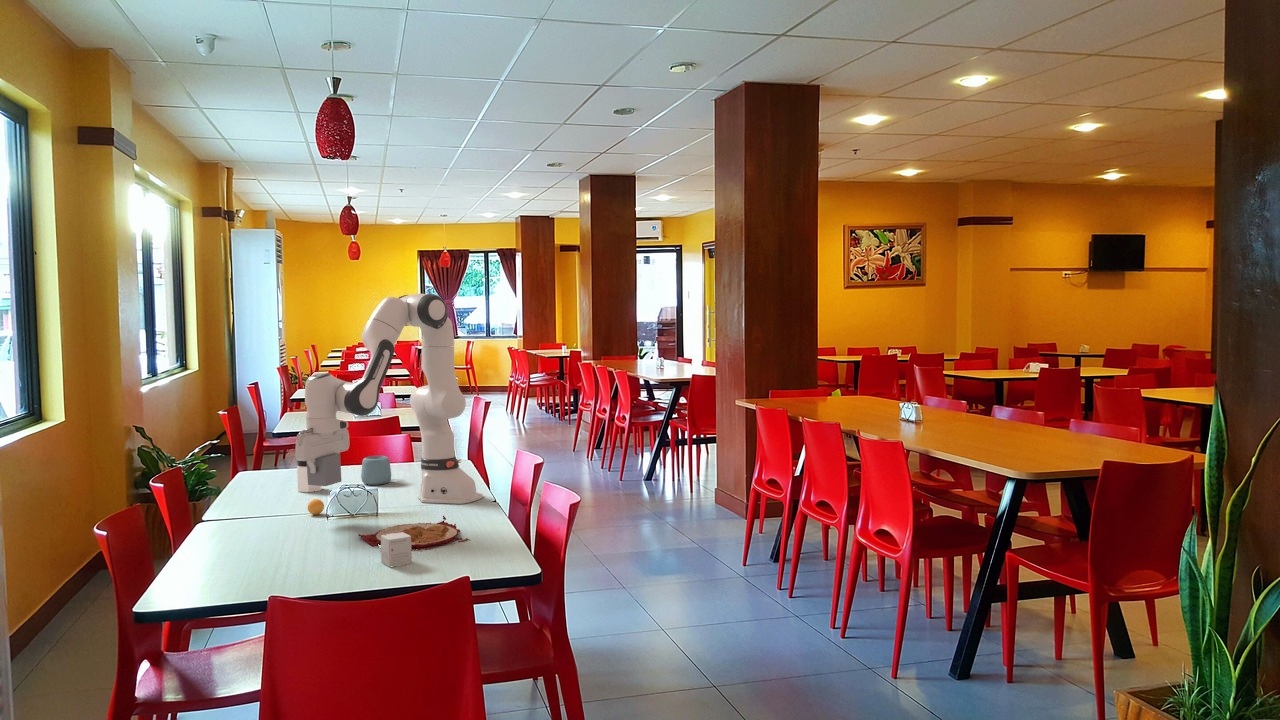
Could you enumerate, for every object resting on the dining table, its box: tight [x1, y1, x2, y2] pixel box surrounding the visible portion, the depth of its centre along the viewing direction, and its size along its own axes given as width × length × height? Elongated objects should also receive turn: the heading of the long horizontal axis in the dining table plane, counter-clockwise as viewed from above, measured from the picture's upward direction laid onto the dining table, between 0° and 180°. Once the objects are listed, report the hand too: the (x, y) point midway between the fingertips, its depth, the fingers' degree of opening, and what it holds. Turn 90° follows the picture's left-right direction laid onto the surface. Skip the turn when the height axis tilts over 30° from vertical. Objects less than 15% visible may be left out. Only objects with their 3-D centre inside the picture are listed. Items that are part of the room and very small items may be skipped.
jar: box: [296, 459, 323, 493], centre depth 323 cm, size 9×8×12 cm
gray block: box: [307, 453, 342, 487], centre depth 275 cm, size 7×7×9 cm
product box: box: [380, 532, 413, 568], centre depth 229 cm, size 6×6×7 cm
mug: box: [360, 455, 392, 486], centre depth 337 cm, size 15×11×10 cm
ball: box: [307, 498, 325, 516], centre depth 284 cm, size 5×5×5 cm
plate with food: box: [358, 515, 471, 552], centre depth 253 cm, size 25×26×4 cm
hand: (324, 470), depth 275 cm, fingers closed on gray block, 7 cm apart
